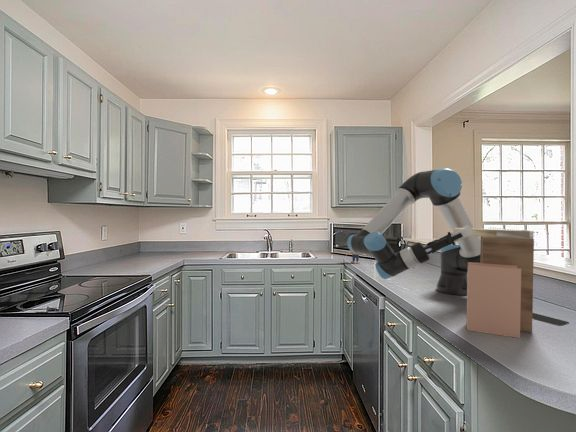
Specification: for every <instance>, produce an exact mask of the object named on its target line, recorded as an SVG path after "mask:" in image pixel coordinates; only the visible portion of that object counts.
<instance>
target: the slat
mask: <svg viewBox="0 0 576 432" xmlns="http://www.w3.org/2000/svg"><path fill="white" fill-rule="evenodd" d="M463 229H465V228H454V233H456V232H458V231H461V230H463ZM499 229H500V228H499ZM499 229H498V228H492V229H491V228H475V229H472V231H473V233H474V234H472V235H470V236H479V237H481V236H483V237H496V230H499ZM512 230H513V231H523V230H524V229H512Z"/></svg>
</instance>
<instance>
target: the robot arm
mask: <svg viewBox="0 0 576 432" xmlns="http://www.w3.org/2000/svg"><path fill="white" fill-rule="evenodd" d="M462 183H463V181H462V178H461V176H460V175H459V174H458V172H457V171H456V170H454V169H452V168H437V169H431V170H426V171H425V170H424V171H419V172H417V173H415V174H413V175H411V176H410V177H408V178H407V179H406V180H405V181H403V183H402V184H401V185H400V186H399V187H397V189H396V190H395V194H394V195H393V196H392V197H391V198H390V200H389V201H388V202H387V203H385V205H384V206H383V207H382V208H381V209H380V210H379V211H378V212H377V213H376V215H374V216H373V217H372V218H371V219H370V220H369V221H368V222H367V224H366V225H365V226H364V227H363V228H362V229H361V230H360V231H359V232H358V233H357V234H352V235H350V236H348V238H347V242H346V245H347V248H348V250H349V251H350V250H351V251H353V252H356V253H359V254H362V255H363V254H365V256H366V255H367V256H371V257H373V258H374V259H375V261H376V263H374V264H375V270H376V272H377V273H378V275H379V276H380V277H381V279H383V280H388V279H390V278H393V277H396V276H397V275H399V274H401V273H404V272H405V271H408V270H410V269H416V267H417V266H419V265H420V264H423V263H426V262H428V261H430V254H431V253H432V254H435V253H436V252H438V251H440V275H439V278H438V280H437V283H436V290H437V292H440V293H444V294H448V295H456V296H457V295H458V296H459V295H460V296H467V271H468V262H471V263H480V250H481V237H480V236H470V235H472V234H474V233H473V231H472V229H476V228H475V227H474V224H473V223H472V221H471V219H470V217H469V215H468V212H467V211H466V209H465V208H464V205H463V203H462V202H461V200H460V196H461V191H462V187H463V186H462ZM428 198H429V200H430V201H431V204H432V206H434V207H438V209H439V211H440V212H441V214H442V216H443V218H444V220H445V222H446V223H447V225H448V228H449V229H450V231H451V232H450V231H448V232H447V234H446V235H444V236H442V237H440V238H438V239H434V240H432V241H429V242H427V243H426V246H424V245H423V244H422V243H421V242H416V243H414V244H412V245H411V246H410V247H409V246H407V247H406V248H404V249H402V250H400V251H397V252H395V251H394V250H393V249H392V247H391V246H390V244H389V242H388V240H387V239H386V238H385V236H383V234H384V232H386V230H387V229H388V228H389V227H390V226H391V225H392V224H393V223H394V222H395V221H396V220H397V219H398V218H399V217H400V215H401V214H402V213H403V212H404V211H405V210H406V209H407V208H408V206H412V205H414V204H415V203H416V202H417V201H419V200H420V199H421V200H422V199H428ZM454 228H465V229H463V230H461V231H458V232H456V233H454ZM456 243H457V244H456Z"/></svg>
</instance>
